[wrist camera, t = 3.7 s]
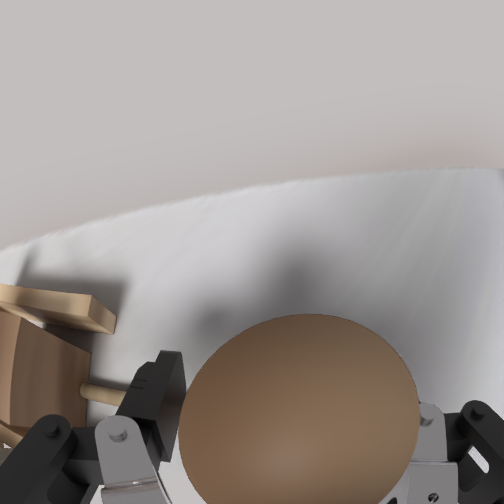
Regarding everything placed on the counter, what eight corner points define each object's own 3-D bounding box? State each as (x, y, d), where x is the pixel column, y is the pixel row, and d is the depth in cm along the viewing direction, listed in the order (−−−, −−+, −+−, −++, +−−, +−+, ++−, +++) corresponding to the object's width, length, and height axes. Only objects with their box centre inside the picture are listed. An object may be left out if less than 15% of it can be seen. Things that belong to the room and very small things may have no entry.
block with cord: (289, 367, 15) (398, 271, 4) (291, 449, 12) (411, 532, 2) (38, 341, 14) (-88, 254, 4) (31, 406, 11) (-109, 359, 1)
